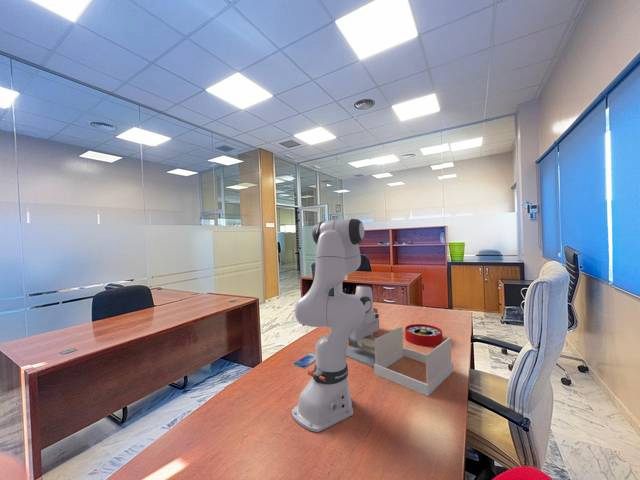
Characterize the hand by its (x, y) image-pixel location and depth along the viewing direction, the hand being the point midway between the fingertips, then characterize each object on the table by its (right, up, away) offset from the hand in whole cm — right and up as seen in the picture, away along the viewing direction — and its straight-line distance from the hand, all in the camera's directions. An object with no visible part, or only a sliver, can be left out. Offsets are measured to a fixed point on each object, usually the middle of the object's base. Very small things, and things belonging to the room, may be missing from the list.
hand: (365, 343), depth 135 cm
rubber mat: (+1, -6, -1) cm, 6 cm away
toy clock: (+36, -5, +18) cm, 41 cm away
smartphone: (-29, -7, -4) cm, 30 cm away
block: (0, -2, 0) cm, 2 cm away
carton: (+18, -5, -19) cm, 26 cm away
